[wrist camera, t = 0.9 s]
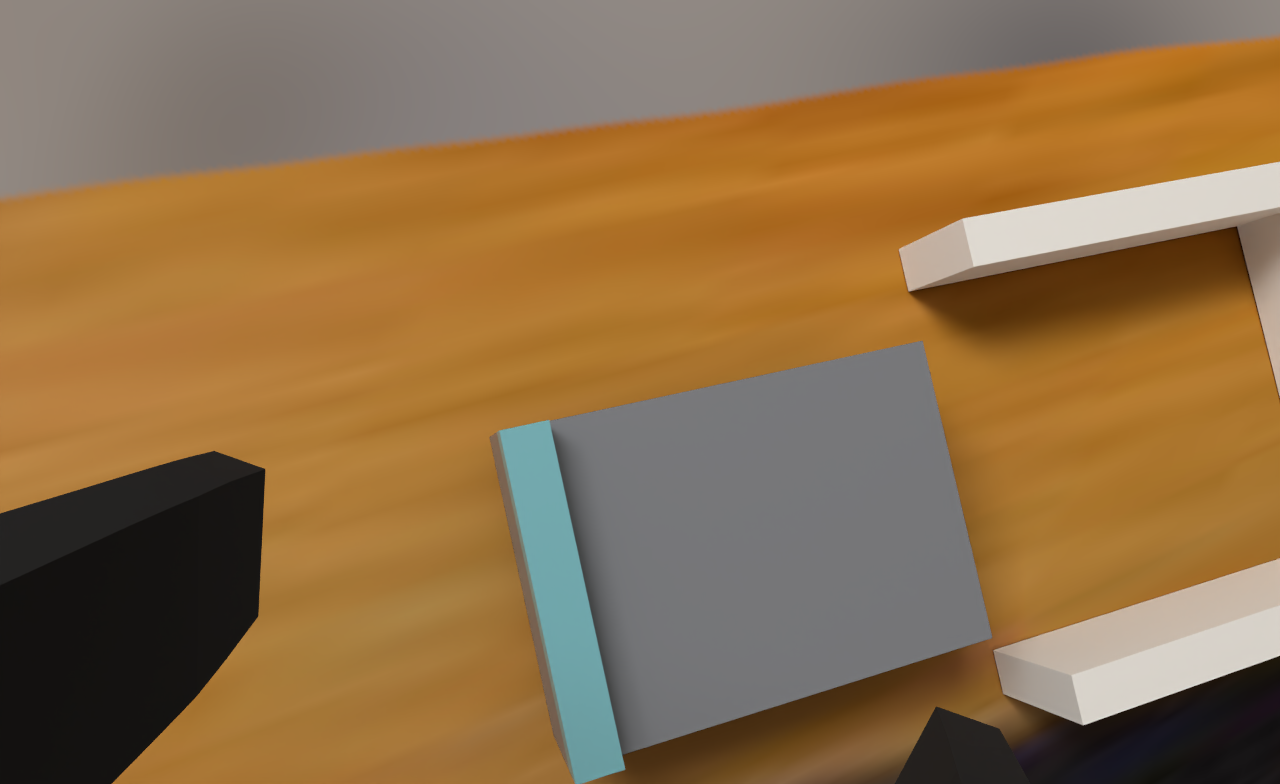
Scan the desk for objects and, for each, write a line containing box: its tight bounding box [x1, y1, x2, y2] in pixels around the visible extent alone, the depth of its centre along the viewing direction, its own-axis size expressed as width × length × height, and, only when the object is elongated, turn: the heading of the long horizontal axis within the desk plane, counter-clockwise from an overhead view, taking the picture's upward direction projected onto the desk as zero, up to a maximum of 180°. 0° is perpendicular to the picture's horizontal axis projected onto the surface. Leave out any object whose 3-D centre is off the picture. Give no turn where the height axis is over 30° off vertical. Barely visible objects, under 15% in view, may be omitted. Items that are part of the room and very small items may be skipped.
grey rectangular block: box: [490, 341, 992, 784], centre depth 20 cm, size 10×7×4 cm
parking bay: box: [899, 162, 1280, 725], centre depth 24 cm, size 13×12×3 cm
